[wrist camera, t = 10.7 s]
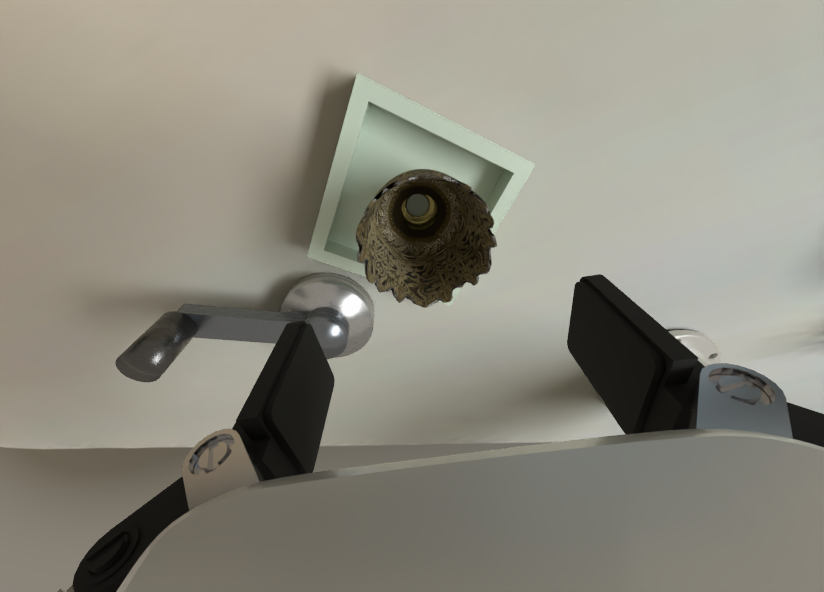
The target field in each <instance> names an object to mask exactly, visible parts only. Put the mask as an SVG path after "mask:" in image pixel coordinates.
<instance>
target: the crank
mask: <svg viewBox="0 0 824 592" xmlns="http://www.w3.org/2000/svg"><path fill="white" fill-rule="evenodd" d="M298 321H305V322H306V323H307V324H311V325H312V327H313V330H314V332H315V334H316V336H317V339H318V341H319V343H320V346H321V348H322V350H323V352H324V355H325V357H326V359H330V358H334V357H337V356H339V355H340V354H341V353H342V352H343V351H344V350H345V348H346V345H347V340H348V335H349V323H348V321H347V319H346V318H345V317H344V316H343V315H342V314H341V313H339V312H337V311H335V310H332V309H327V308H319V309H314V310H312V311H310V312H308V313H307V314H297V313H285V312H274V311H262V310H251V309H239V308H228V307H216V306H205V305H193V304H184V305H183V306H182V307H181V308H180V309H179V310H178V311H177V312H167V313H165V314H164V315H163V316H162V317H160V318H159V319H158V320H157V321H156V322H155V323H154V324H153V325H152V326H151V327H150V328H149V329H148V330H147V331H146V332H145V333H144V334H143V335H141V336H140V337H139V338H138V339H137V340H136V341H135V342H134V343H133V344H132V345H131V346H130V347H129V348H128V349H127V350H126V351H125V352H123V353H122V354H121V355H120V356H119V357H118V358H117V360H116V366H117V368H118V370H119V371H120V372H121V373H122V374H124V375H125V376H127V377H129V378H131V379H133V380H136V381H140V382H153V381H156V380H157V379H159V378H160V376H161V375H162V374H163V373H164V372H165V370H166V369H167V368H168V367H169V366H170V365H171V363H172V362H173V361H174V360H175V359H176V357H177V356H178V355H179V354H180V353H181V351H182V350H183V349H184V348H185V347H186V345H187V344H188V343H189V342H190V341H191V339H192V338H193V337H196V338H209V339H222V340H236V341H249V342H262V343H277V341H278V339H279V337H280V335H281V334H282V332H283V330H284V328H285V326H286V324H287V323H291V322H298Z"/></svg>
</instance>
